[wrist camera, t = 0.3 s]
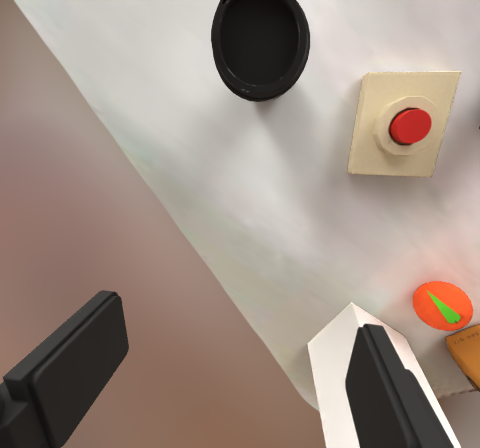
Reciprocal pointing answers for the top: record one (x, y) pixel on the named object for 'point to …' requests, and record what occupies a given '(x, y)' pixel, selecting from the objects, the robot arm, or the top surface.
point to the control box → (387, 109)
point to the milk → (335, 370)
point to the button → (411, 126)
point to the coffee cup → (260, 46)
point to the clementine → (442, 306)
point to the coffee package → (467, 353)
